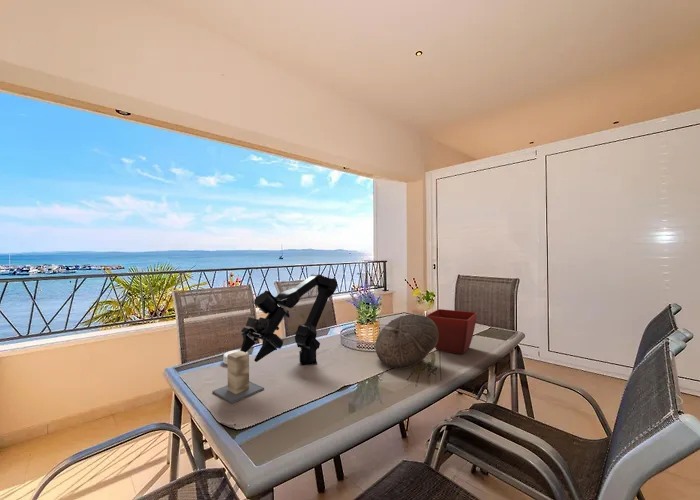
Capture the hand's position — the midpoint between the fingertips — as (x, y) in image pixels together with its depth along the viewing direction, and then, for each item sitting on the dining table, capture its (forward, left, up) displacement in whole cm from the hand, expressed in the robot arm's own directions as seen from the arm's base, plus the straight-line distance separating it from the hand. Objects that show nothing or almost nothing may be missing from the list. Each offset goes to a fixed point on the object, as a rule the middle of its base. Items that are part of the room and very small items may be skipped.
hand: (247, 358), depth 105 cm
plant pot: (-93, -13, -10) cm, 95 cm away
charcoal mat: (+3, +2, -10) cm, 11 cm away
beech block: (+3, +2, -9) cm, 10 cm away
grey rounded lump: (-64, -5, -10) cm, 65 cm away
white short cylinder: (+6, -29, -10) cm, 31 cm away
